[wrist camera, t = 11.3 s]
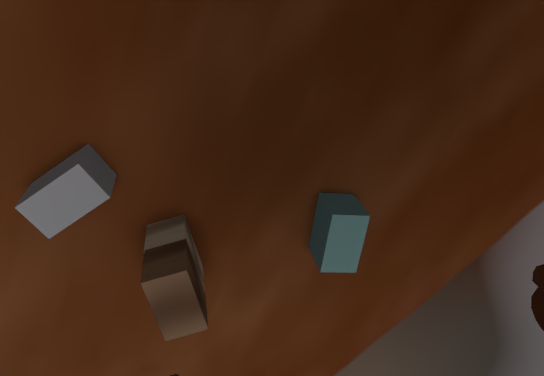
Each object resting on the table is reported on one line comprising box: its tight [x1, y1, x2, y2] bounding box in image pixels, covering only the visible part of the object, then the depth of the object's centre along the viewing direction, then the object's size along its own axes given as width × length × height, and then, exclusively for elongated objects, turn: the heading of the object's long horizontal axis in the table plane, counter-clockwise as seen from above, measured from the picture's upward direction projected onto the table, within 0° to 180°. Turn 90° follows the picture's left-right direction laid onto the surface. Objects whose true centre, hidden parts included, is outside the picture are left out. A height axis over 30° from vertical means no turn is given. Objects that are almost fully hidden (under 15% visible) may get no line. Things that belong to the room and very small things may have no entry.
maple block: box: [144, 214, 205, 291], centre depth 42 cm, size 6×4×4 cm, turn 13°
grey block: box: [15, 144, 117, 239], centre depth 38 cm, size 6×4×4 cm, turn 122°
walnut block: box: [141, 239, 208, 341], centre depth 38 cm, size 6×4×4 cm, turn 12°
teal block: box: [309, 193, 370, 273], centre depth 44 cm, size 6×4×4 cm, turn 172°
